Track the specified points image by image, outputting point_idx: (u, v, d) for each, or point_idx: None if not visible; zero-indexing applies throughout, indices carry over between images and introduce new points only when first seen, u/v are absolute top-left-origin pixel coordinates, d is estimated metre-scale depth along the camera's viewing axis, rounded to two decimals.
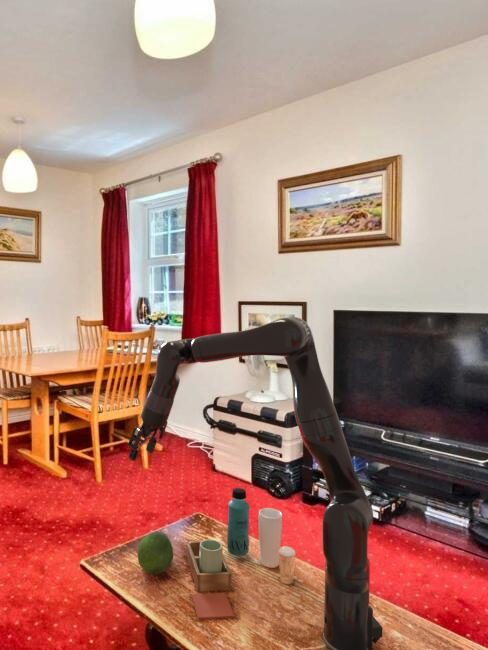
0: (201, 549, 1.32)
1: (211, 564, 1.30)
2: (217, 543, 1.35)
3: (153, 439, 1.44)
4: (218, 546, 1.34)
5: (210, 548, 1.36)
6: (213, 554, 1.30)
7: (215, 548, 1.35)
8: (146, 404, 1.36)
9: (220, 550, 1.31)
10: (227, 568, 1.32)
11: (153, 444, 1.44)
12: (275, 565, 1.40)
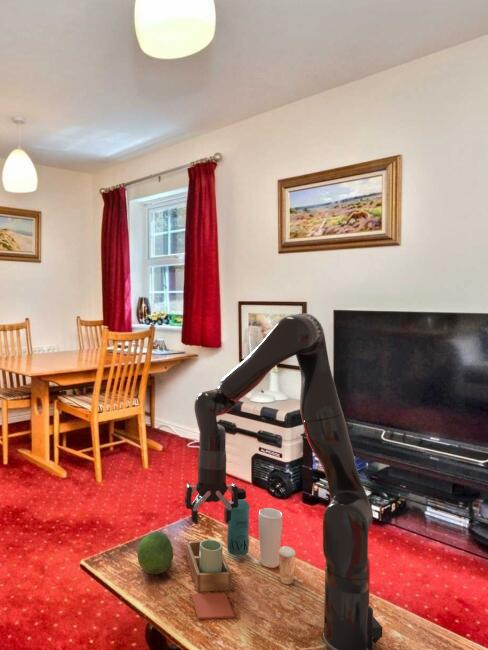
0: (201, 549, 1.32)
1: (211, 564, 1.30)
2: (217, 543, 1.35)
3: (226, 507, 1.33)
4: (218, 546, 1.34)
5: (210, 548, 1.36)
6: (213, 554, 1.30)
7: (215, 548, 1.35)
8: None
9: (220, 550, 1.31)
10: (227, 568, 1.32)
11: (226, 512, 1.32)
12: (275, 565, 1.40)
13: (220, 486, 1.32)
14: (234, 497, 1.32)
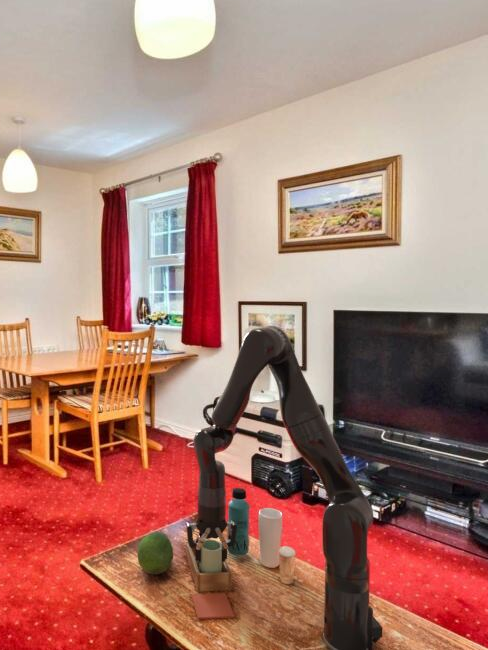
0: (201, 549, 1.32)
1: (211, 564, 1.30)
2: (217, 543, 1.35)
3: (222, 545, 1.33)
4: (218, 546, 1.34)
5: (210, 548, 1.36)
6: (213, 554, 1.30)
7: (215, 548, 1.35)
8: None
9: (220, 550, 1.31)
10: (227, 568, 1.32)
11: (222, 551, 1.33)
12: (275, 565, 1.40)
13: (220, 523, 1.32)
14: (232, 535, 1.32)
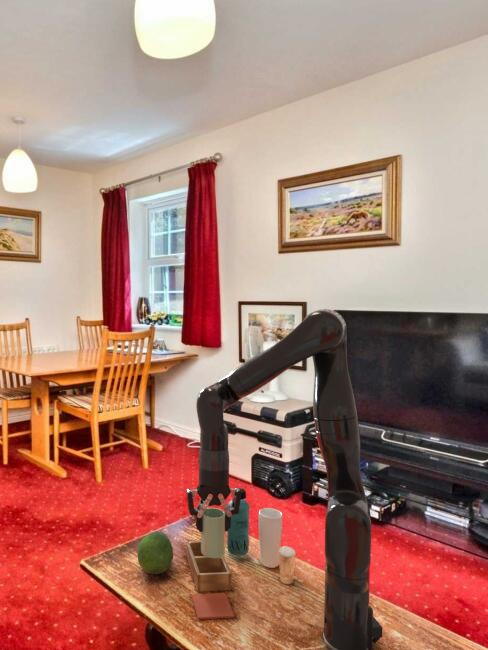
0: (202, 517, 1.22)
1: (213, 533, 1.20)
2: (220, 511, 1.25)
3: (225, 513, 1.24)
4: (221, 514, 1.25)
5: (212, 517, 1.26)
6: (215, 522, 1.20)
7: (218, 517, 1.25)
8: None
9: (223, 518, 1.21)
10: (227, 568, 1.32)
11: (225, 519, 1.23)
12: (275, 565, 1.40)
13: (223, 489, 1.22)
14: (236, 502, 1.23)
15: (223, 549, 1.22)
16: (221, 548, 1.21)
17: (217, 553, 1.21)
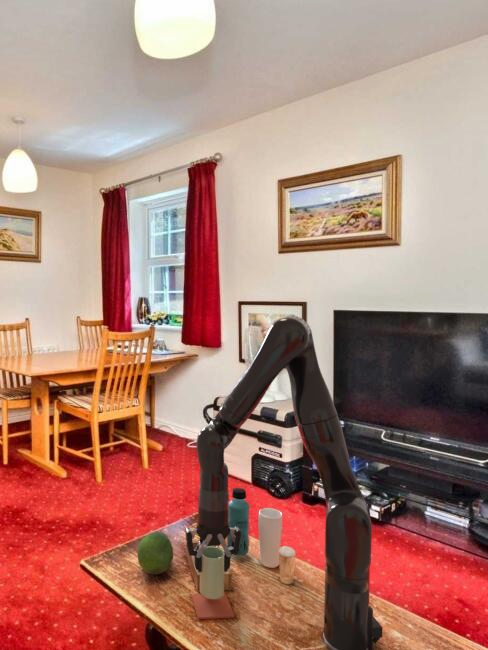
0: (202, 557, 1.21)
1: (213, 574, 1.19)
2: (219, 550, 1.24)
3: (225, 553, 1.22)
4: (220, 554, 1.23)
5: (211, 556, 1.25)
6: (215, 563, 1.19)
7: (217, 556, 1.24)
8: None
9: (222, 558, 1.20)
10: None
11: None
12: (275, 565, 1.40)
13: (222, 528, 1.21)
14: (235, 542, 1.21)
15: (222, 589, 1.20)
16: (220, 589, 1.20)
17: (216, 594, 1.19)
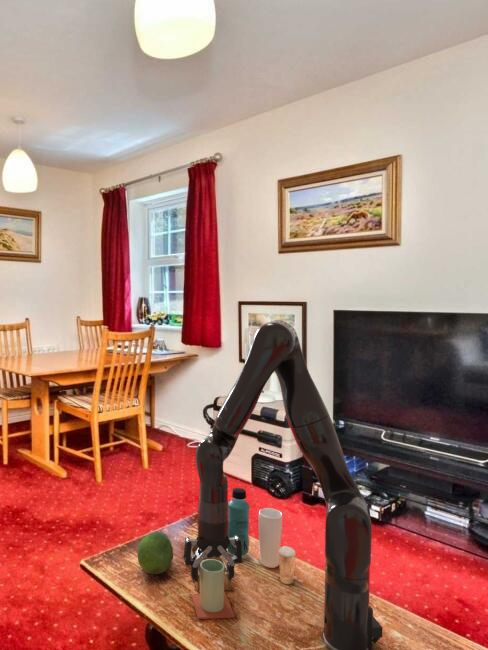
0: (201, 570, 1.21)
1: (212, 587, 1.19)
2: (219, 563, 1.24)
3: (228, 562, 1.22)
4: (220, 566, 1.24)
5: (211, 568, 1.25)
6: (215, 576, 1.19)
7: (217, 569, 1.24)
8: None
9: (222, 571, 1.20)
10: None
11: (228, 568, 1.22)
12: (275, 565, 1.40)
13: (222, 540, 1.21)
14: (237, 552, 1.21)
15: (222, 603, 1.21)
16: (220, 602, 1.20)
17: (216, 607, 1.20)
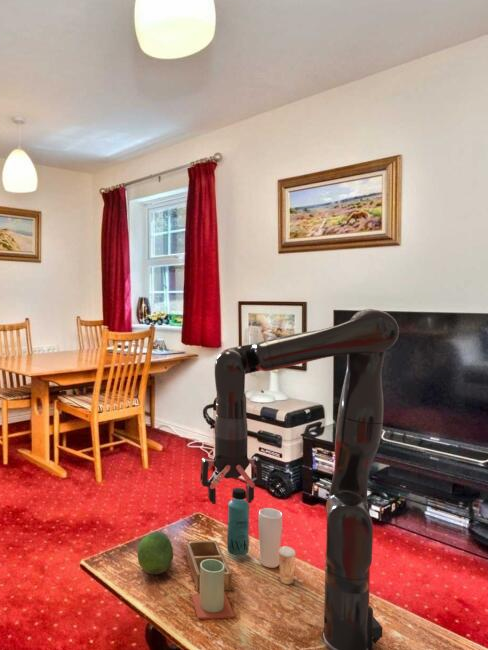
0: (201, 570, 1.21)
1: (212, 587, 1.19)
2: (219, 563, 1.24)
3: (248, 484, 1.16)
4: (220, 566, 1.24)
5: (211, 568, 1.25)
6: (215, 576, 1.19)
7: (217, 569, 1.24)
8: None
9: (222, 571, 1.20)
10: (227, 568, 1.32)
11: (248, 490, 1.15)
12: (275, 565, 1.40)
13: (241, 460, 1.14)
14: (257, 472, 1.15)
15: (222, 603, 1.21)
16: (220, 602, 1.20)
17: (216, 607, 1.20)
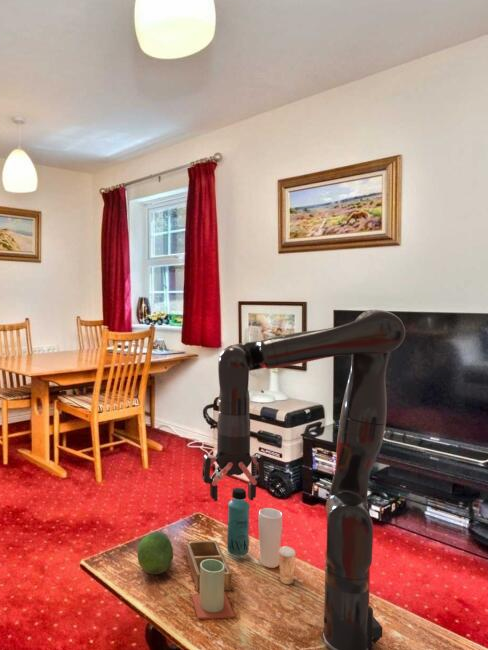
0: (201, 570, 1.21)
1: (212, 587, 1.19)
2: (219, 563, 1.24)
3: (250, 481, 1.15)
4: (220, 566, 1.24)
5: (211, 568, 1.25)
6: (215, 576, 1.19)
7: (217, 569, 1.24)
8: None
9: (222, 571, 1.20)
10: (227, 568, 1.32)
11: (250, 487, 1.14)
12: (275, 565, 1.40)
13: (243, 457, 1.14)
14: (260, 470, 1.14)
15: (222, 603, 1.21)
16: (220, 602, 1.20)
17: (216, 607, 1.20)
